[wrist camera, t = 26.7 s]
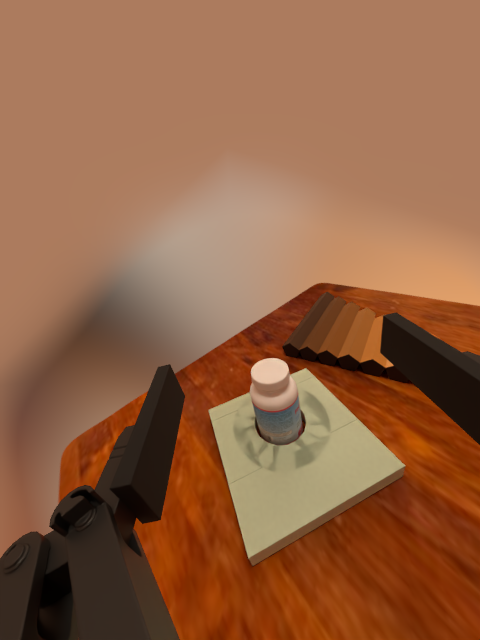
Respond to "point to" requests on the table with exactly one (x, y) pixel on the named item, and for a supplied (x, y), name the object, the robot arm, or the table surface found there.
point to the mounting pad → (298, 467)
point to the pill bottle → (275, 402)
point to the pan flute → (342, 337)
